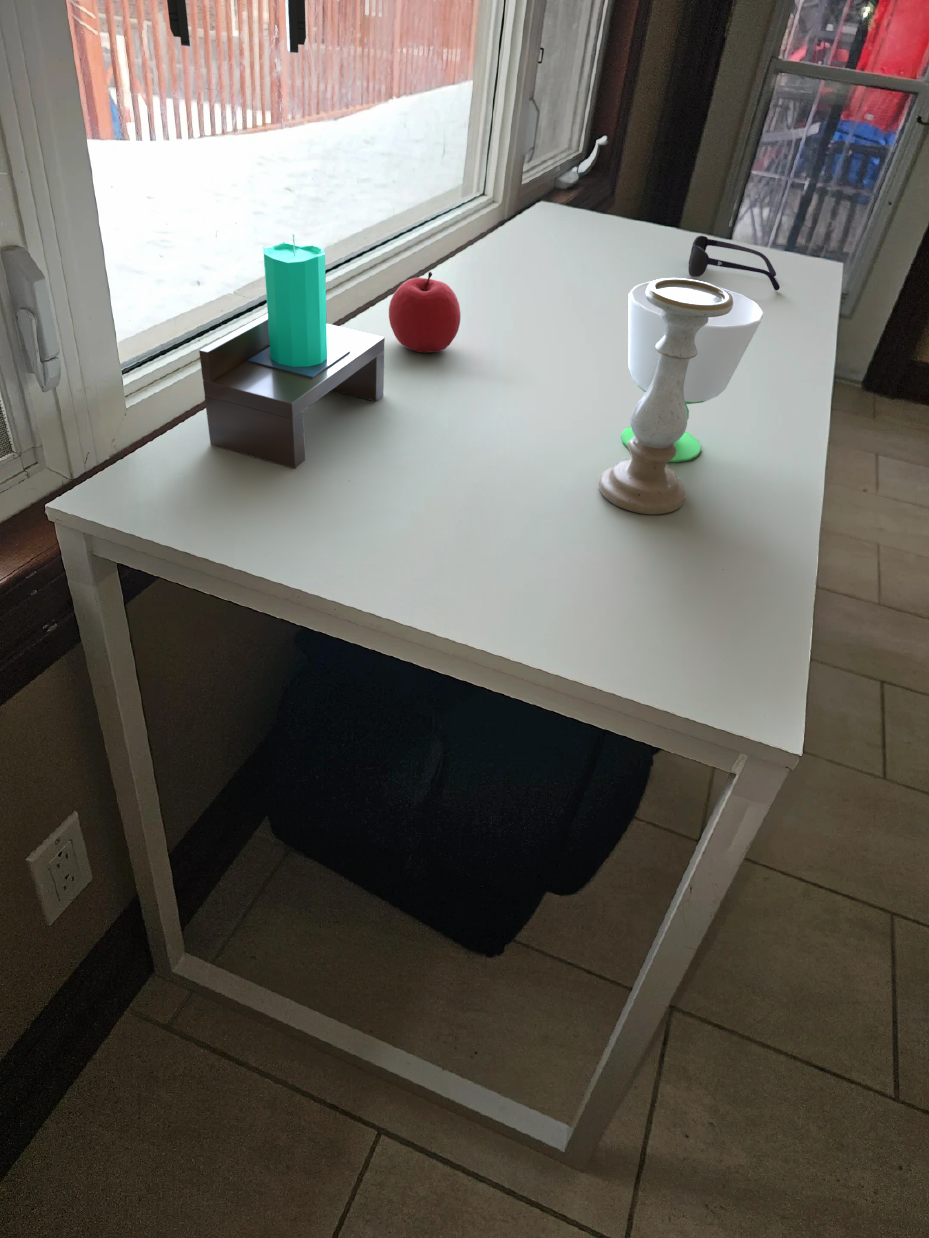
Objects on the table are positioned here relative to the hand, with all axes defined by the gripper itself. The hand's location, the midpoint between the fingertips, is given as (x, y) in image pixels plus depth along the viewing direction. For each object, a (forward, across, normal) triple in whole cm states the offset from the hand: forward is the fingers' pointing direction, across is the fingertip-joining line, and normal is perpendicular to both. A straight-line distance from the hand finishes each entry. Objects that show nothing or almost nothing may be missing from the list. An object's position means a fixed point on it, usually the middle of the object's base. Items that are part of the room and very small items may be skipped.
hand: (239, 48), depth 68 cm
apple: (+34, -22, -21) cm, 46 cm away
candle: (+27, -4, -2) cm, 27 cm away
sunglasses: (+34, -84, -49) cm, 103 cm away
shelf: (+34, -4, -2) cm, 34 cm away
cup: (+34, -43, +8) cm, 56 cm away
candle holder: (+34, -36, +18) cm, 53 cm away
